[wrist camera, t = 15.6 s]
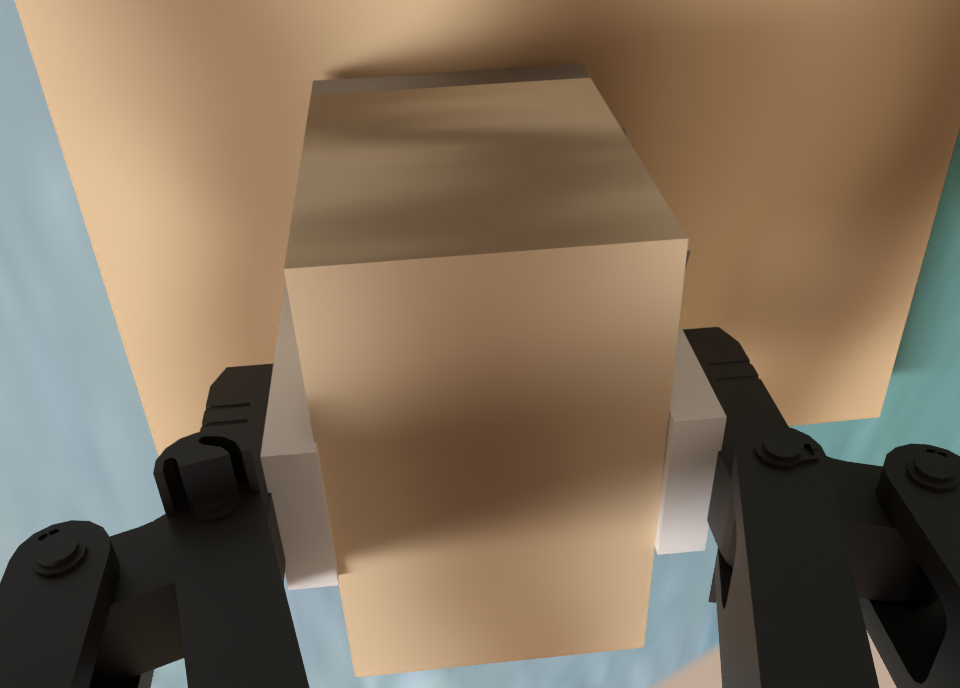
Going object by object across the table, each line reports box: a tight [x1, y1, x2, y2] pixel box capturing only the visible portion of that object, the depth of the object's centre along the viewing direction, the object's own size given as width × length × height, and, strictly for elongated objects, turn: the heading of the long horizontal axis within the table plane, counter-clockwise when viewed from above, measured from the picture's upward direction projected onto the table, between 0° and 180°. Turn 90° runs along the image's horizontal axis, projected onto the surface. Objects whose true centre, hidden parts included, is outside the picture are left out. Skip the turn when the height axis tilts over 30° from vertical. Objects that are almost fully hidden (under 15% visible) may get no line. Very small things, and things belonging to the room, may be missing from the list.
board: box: [15, 0, 960, 456], centre depth 20 cm, size 18×12×2 cm, turn 92°
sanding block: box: [284, 64, 688, 677], centre depth 16 cm, size 5×8×7 cm, turn 2°
